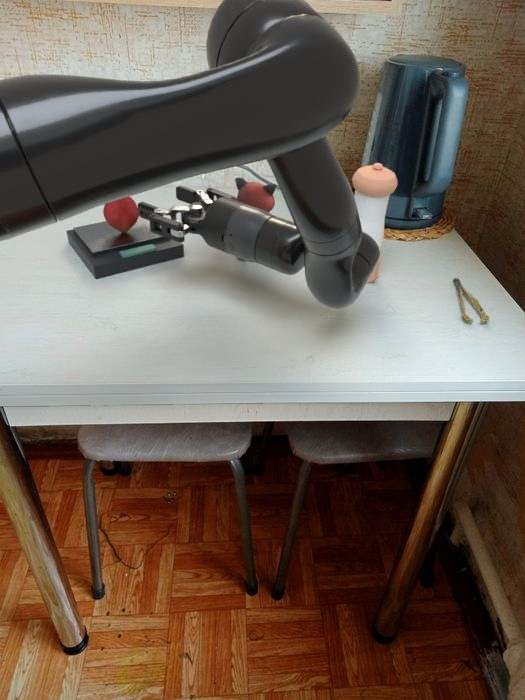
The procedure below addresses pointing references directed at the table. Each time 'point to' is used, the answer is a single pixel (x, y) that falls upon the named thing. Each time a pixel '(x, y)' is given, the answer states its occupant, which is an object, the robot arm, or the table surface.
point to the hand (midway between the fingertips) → (159, 199)
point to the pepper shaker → (373, 201)
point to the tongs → (472, 299)
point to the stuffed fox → (256, 194)
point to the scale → (121, 247)
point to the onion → (121, 214)
